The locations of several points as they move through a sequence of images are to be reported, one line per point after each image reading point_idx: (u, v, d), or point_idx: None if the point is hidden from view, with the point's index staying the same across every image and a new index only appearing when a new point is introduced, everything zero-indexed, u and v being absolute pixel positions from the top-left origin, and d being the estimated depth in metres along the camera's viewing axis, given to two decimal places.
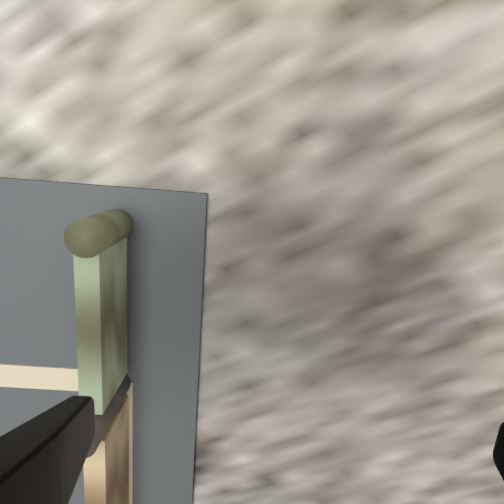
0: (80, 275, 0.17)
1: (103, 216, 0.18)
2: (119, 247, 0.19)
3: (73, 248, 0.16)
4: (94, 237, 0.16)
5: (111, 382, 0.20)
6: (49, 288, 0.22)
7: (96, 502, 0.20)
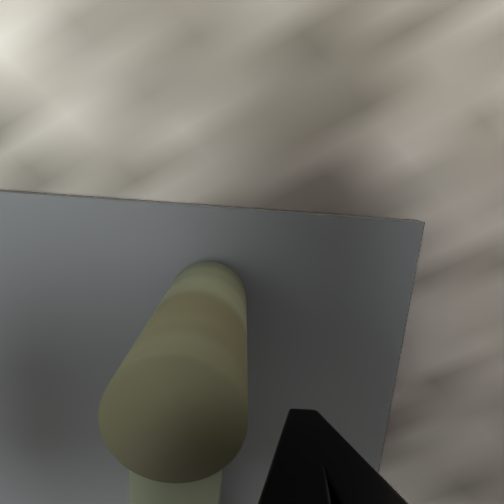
0: None
1: (212, 307, 0.06)
2: None
3: (132, 451, 0.04)
4: (214, 415, 0.04)
5: None
6: (46, 433, 0.10)
7: None
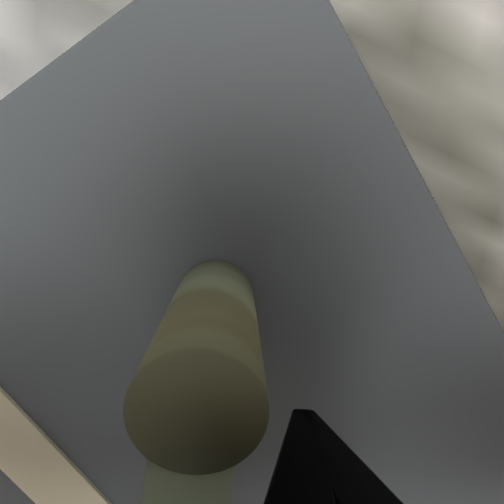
0: None
1: (230, 304, 0.06)
2: None
3: (154, 441, 0.04)
4: (237, 409, 0.04)
5: None
6: (269, 411, 0.10)
7: None
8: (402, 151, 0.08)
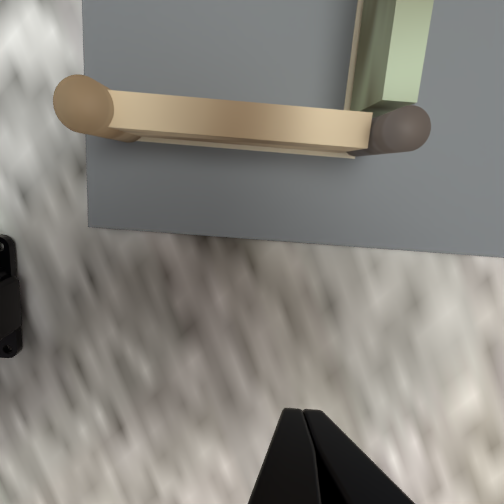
0: None
1: None
2: None
3: None
4: None
5: None
6: None
7: (253, 123, 0.12)
8: None
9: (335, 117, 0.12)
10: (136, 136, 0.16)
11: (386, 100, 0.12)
